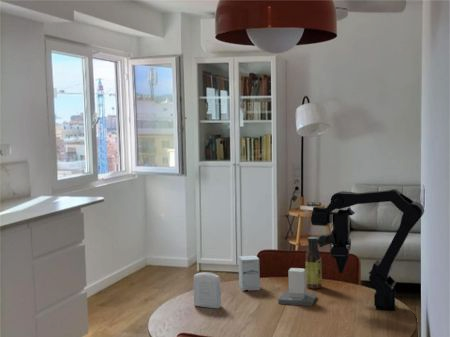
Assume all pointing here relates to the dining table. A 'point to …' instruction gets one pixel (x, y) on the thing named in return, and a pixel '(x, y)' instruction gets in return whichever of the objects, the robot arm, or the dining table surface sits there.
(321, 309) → the dining table surface
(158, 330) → the dining table surface
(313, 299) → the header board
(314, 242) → the sauce bottle
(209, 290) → the white arched block
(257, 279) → the supplement box
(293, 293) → the white rectangular block
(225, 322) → the dining table surface
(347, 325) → the dining table surface
